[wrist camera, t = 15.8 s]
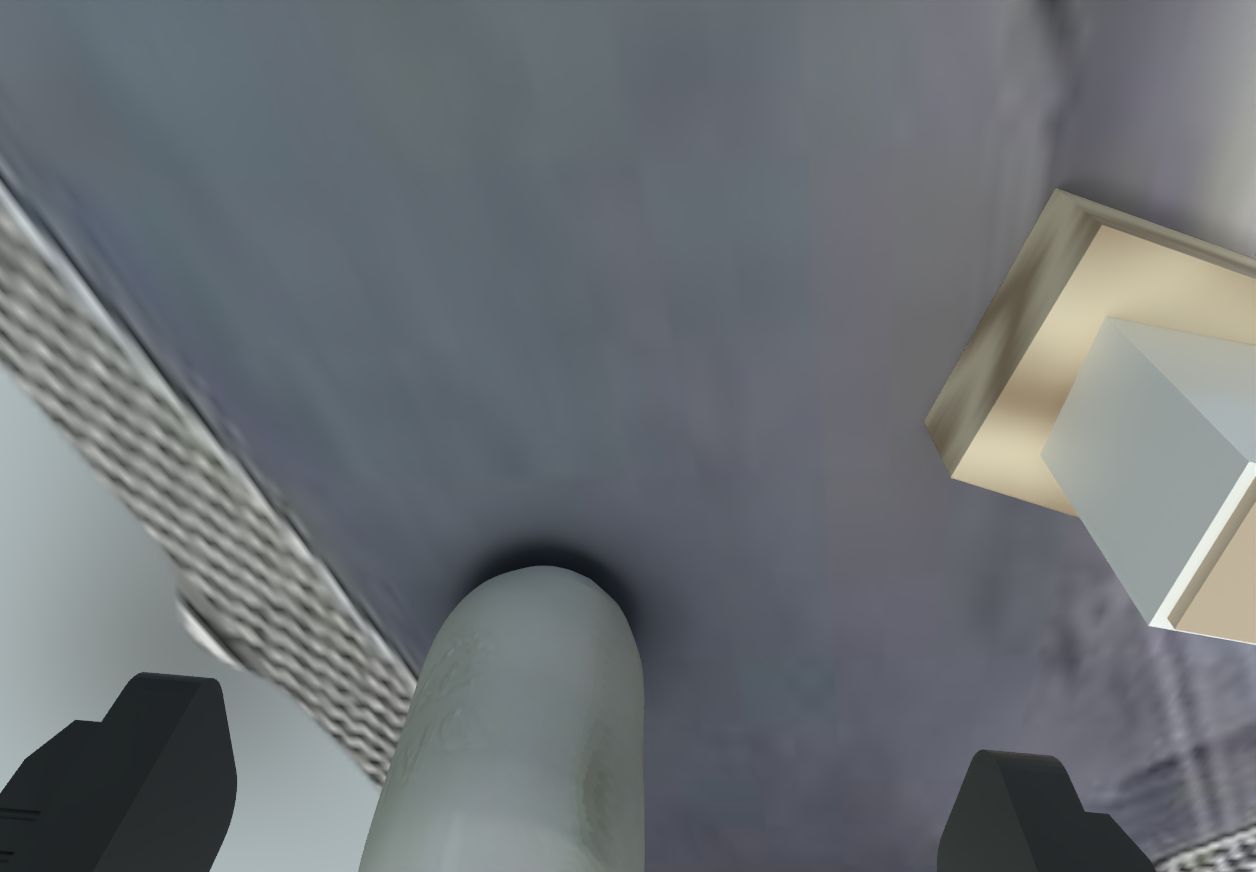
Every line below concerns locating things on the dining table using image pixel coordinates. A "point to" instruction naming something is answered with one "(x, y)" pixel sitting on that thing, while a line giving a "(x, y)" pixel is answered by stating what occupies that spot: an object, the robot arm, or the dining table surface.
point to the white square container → (1167, 472)
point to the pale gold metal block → (1074, 333)
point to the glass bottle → (520, 738)
